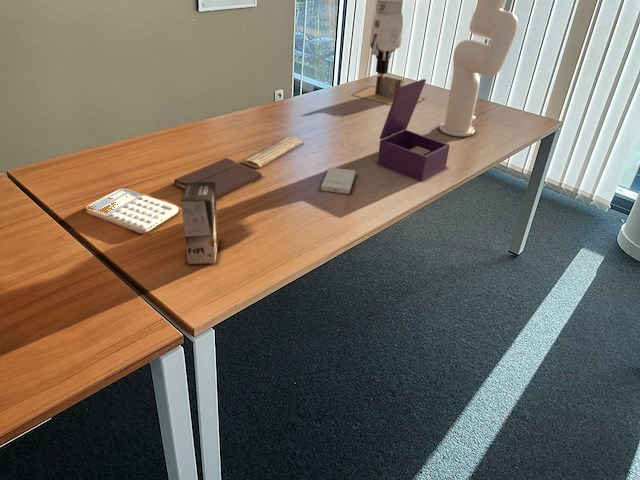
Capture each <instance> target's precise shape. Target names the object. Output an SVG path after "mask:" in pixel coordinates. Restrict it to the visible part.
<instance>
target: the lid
mask: <svg viewBox="0 0 640 480" xmlns="http://www.w3.org/2000/svg"><path fill="white" fill-rule="evenodd" d="M426 82H427V79H425V78H422V79H419V80H417V81H414V82H411V83H408V84H404V85H403V86H402V87H399V88H398V89H397V92H396V95H395V97H394V100H393V103H392V105H390V108H389V112H388V113H387V117H386V119H385V122H384V124H383V127H382V129H381V130H382V131H381V133H380V135H379V140H383V139H385V138H387V137H390V136H392V135H394V134H397V133H399V132H401V131H404V130H408V126H409V124H410V121H411V119H412V116H413V114H414V111H415V109H416V106H417V104H418V102H419V101H418V99H419V98H421V94H422V92H423V89H424V87H425V85H426Z"/></svg>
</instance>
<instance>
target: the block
mask: <svg viewBox="0 0 640 480" xmlns="http://www.w3.org/2000/svg"><path fill="white" fill-rule="evenodd" d="M410 150H411V151H413V152H416V153H419V154H422V155H424V156H425V155H427V154H429V153H431V151H430V150H427V149H424V148H421V147H418V146H416V147H414V148H412V149H410Z"/></svg>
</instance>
